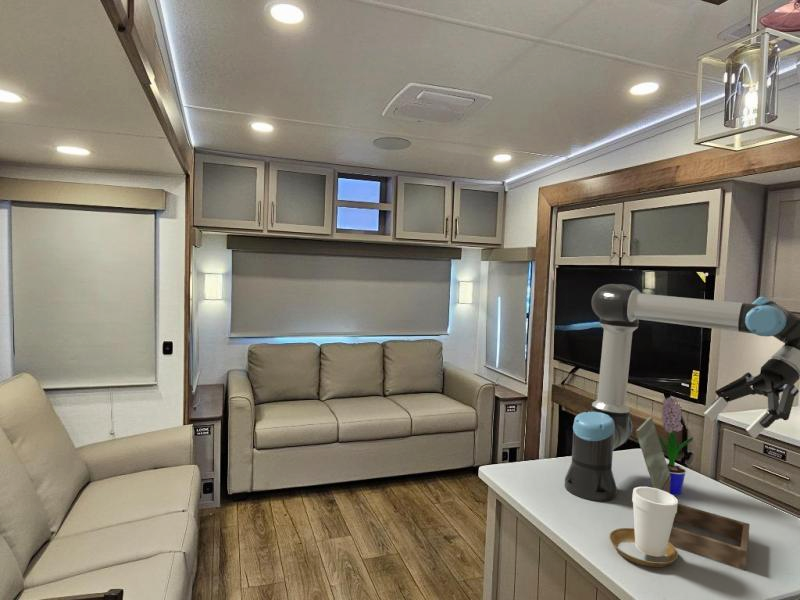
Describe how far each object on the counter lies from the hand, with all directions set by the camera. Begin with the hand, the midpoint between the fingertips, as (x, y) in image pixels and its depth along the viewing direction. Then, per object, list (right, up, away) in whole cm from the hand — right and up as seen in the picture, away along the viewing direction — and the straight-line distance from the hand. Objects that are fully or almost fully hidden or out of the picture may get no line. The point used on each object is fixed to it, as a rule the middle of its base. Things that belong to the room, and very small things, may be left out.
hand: (727, 425), depth 121 cm
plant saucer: (-25, -30, -6) cm, 40 cm away
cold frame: (-9, -29, +2) cm, 31 cm away
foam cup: (-24, -27, -9) cm, 38 cm away
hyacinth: (+3, -29, +29) cm, 41 cm away
